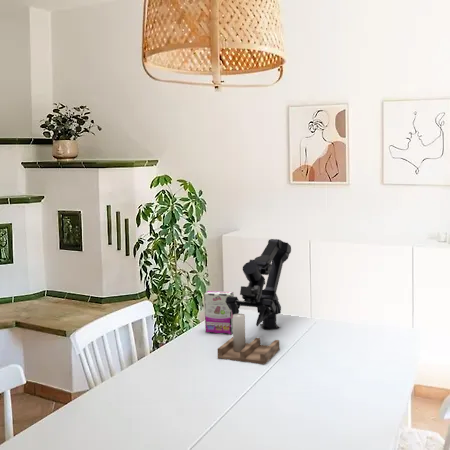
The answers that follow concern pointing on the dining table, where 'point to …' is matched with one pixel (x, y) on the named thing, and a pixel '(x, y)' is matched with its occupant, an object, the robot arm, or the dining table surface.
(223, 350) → the wooden compartment tray
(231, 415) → the dining table surface
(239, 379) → the dining table surface
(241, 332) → the rounded tapered clay block
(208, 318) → the candy bar box
